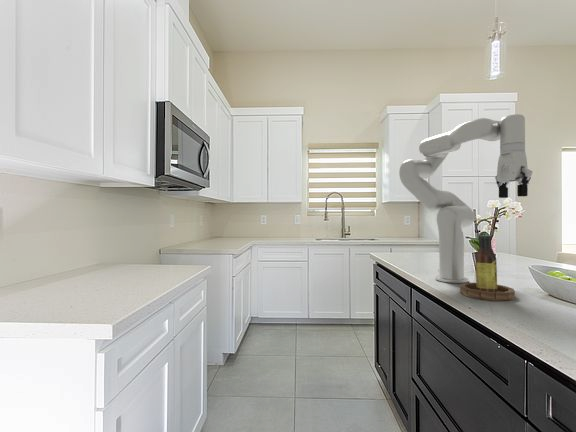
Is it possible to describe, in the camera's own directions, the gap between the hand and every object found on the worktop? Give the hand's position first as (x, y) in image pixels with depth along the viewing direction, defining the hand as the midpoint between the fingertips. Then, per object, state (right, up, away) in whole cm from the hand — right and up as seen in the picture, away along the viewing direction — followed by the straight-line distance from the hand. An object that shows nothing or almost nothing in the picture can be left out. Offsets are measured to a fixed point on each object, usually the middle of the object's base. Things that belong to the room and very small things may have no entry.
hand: (512, 197), depth 119 cm
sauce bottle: (-13, -34, -5) cm, 36 cm away
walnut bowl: (-13, -34, -5) cm, 37 cm away
